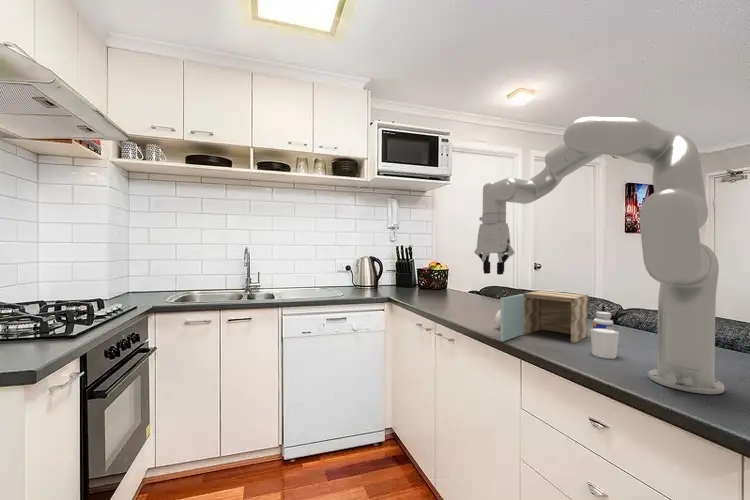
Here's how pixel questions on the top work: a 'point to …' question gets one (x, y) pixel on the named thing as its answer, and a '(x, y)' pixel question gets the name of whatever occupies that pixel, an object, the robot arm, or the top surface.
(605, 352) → the white cup
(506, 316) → the door
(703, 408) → the top surface
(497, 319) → the egg
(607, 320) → the pill bottle
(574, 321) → the cabinet
